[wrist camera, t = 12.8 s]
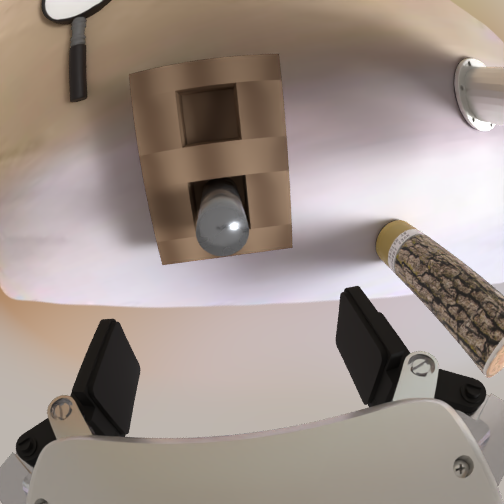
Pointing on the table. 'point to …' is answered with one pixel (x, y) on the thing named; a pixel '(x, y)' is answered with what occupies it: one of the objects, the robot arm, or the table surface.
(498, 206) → the table surface
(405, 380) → the robot arm
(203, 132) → the brown rectangular block
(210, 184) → the steel pin
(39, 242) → the table surface
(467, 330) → the bark pattern cylinder
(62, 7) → the magnifying glass
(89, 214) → the table surface
